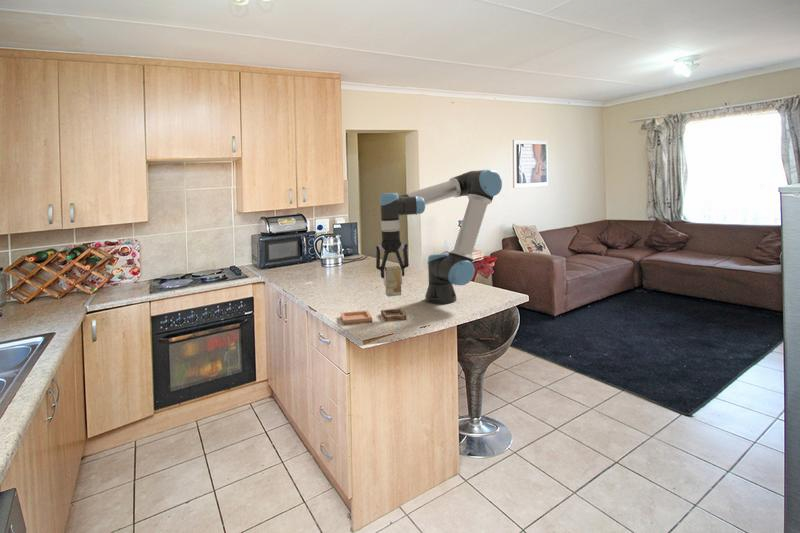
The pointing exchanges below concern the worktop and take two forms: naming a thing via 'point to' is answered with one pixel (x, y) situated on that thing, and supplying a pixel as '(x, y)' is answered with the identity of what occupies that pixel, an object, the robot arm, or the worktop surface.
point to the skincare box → (393, 281)
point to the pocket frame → (395, 317)
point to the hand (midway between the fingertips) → (393, 284)
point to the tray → (356, 317)
